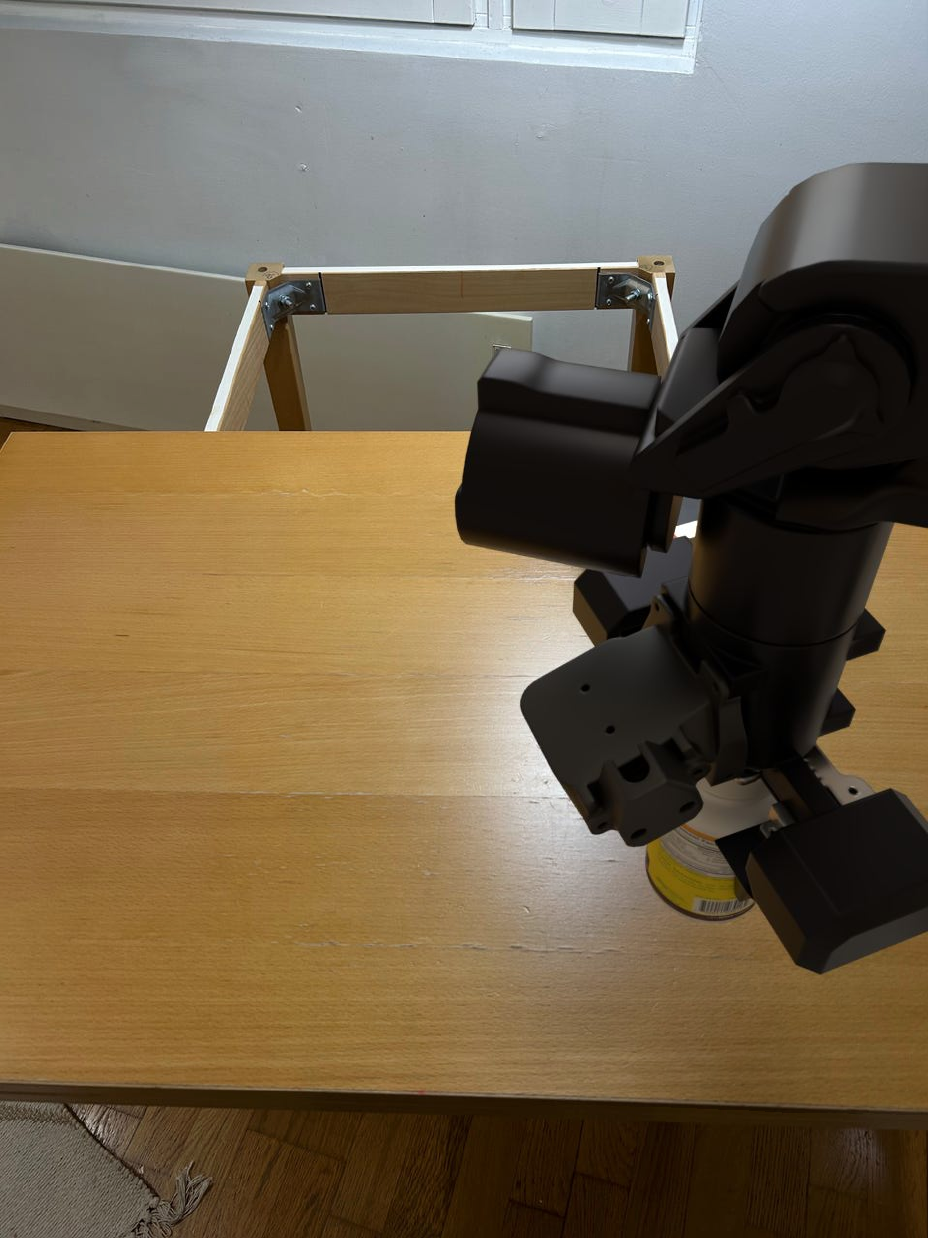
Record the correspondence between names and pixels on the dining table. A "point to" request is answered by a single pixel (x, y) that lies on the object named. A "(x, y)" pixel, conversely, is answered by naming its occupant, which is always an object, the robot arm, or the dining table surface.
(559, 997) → the dining table surface
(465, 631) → the dining table surface
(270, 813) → the dining table surface
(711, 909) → the supplement bottle
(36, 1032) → the dining table surface
